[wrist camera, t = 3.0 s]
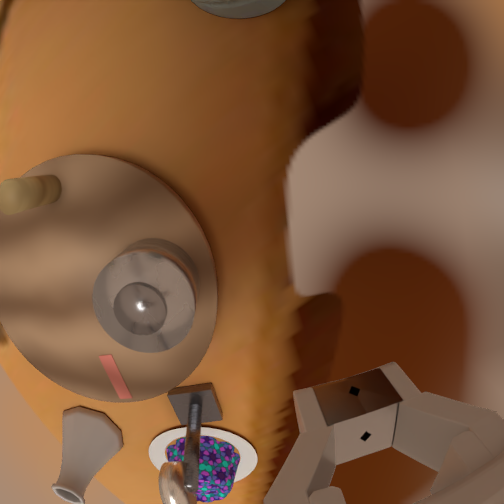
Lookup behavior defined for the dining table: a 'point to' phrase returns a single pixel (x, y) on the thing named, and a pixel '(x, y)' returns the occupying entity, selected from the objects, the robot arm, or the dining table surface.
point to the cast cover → (147, 296)
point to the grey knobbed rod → (188, 442)
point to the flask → (84, 451)
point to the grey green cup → (238, 7)
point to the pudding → (209, 459)
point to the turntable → (93, 273)
